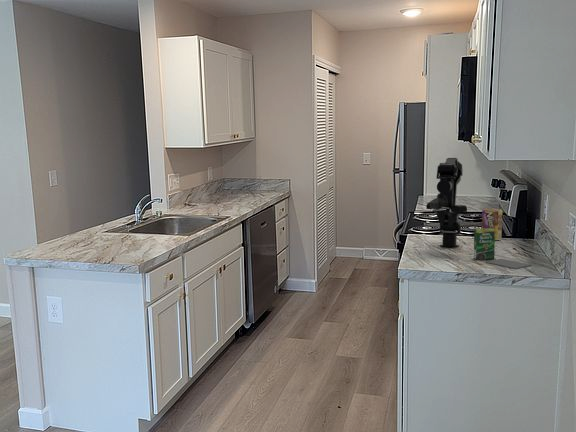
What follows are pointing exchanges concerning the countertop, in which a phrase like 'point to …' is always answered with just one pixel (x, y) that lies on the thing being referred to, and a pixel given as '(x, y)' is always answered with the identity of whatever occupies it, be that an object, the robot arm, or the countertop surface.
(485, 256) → the coffee box
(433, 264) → the countertop surface
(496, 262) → the mat
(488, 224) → the candy box
